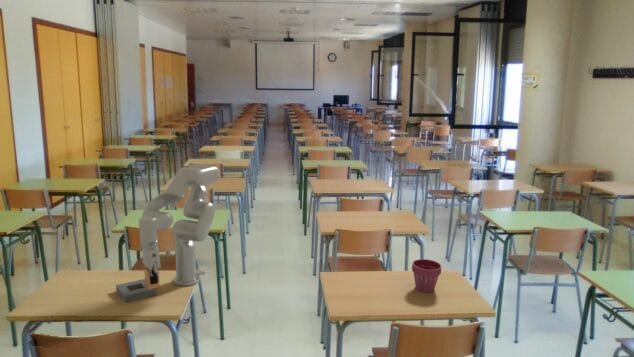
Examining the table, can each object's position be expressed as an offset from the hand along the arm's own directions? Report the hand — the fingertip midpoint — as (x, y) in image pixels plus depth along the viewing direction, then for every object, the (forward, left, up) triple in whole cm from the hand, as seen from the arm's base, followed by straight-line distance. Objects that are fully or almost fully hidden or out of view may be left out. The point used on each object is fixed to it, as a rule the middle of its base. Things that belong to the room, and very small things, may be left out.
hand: (152, 281), depth 231 cm
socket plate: (+4, -12, -9) cm, 16 cm away
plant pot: (-115, +61, -10) cm, 130 cm away
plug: (0, 0, -3) cm, 3 cm away
